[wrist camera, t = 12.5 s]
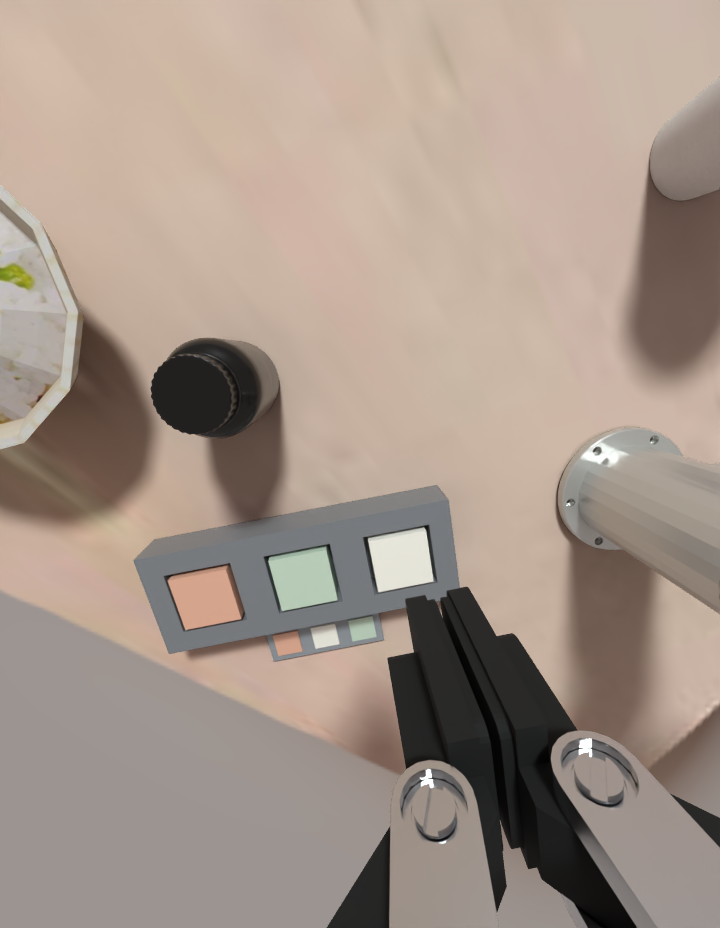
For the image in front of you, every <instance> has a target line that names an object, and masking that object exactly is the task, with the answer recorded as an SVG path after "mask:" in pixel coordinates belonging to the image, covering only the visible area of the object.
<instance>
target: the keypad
mask: <svg viewBox="0 0 720 928" xmlns="http://www.w3.org/2000/svg"><path fill="white" fill-rule="evenodd" d="M419 526H424V528H425V530H426V534H427V540H428V547H429V554H430V561H431V567H432V574H433V581H434V582H429V583H424V584H419V585H414V586H408V587H403V588H398V589H393V590H388V591H383V592H378V589H377V583H376V578H375V573H374V568H373V563H372V558H371V553H370V547H369V542H368V537H367V536H372V535H377V534H382V533H388V532H393V531H398V530H403V529H408V528H413V527H419ZM326 544H329V546H330V551H331V555H332V560H333V564H334V569H335V573H336V577H337V582H338V600H337V601H331V602H326V603H321V604H316V605H311V606H306V607H301V608H296V609H291V610H285V611H282V609H281V605H280V602H279V598H278V595H277V591H276V587H275V584H274V580H273V576H272V573H271V569H270V566H269V562H268V561H269V558H270V555H274V554H279V553H284V552H290V551H295V550H300V549H305V548H310V547H315V546H321V545H326ZM133 561H134V563H135V566H136V569H137V571H138V574H139V576H140V579H141V582H142V584H143V587H144V590H145V592H146V595H147V597H148V600H149V603H150V605H151V608H152V611H153V613H154V616H155V618H156V621H157V624H158V626H159V629H160V632H161V634H162V637H163V639H164V642H165V645H166V647H167V650H168V653H169V654H172V653H177V652H182V651H187V650H192V649H197V648H203V647H208V646H213V645H218V644H223V643H228V642H233V641H238V640H243V639H249V638H254V637H259V636H264V635H269V634H274V633H279V632H284V631H289V630H295V629H300V628H305V627H310V626H315V625H320V624H325V623H330V622H335V621H341V620H346V619H351V618H356V617H361V616H366V615H371V614H376V613H381V612H387V611H392V610H397V609H402V608H406V603H405V599H406V598H411V597H416V596H421V595H426V598H427V600H431V599H435V601H436V602H438V601H440V598H441V597H447V594H446V593H447V590H452V589H457V588H460V585H459V577H458V570H457V562H456V554H455V546H454V539H453V531H452V523H451V515H450V507H449V500H448V498H447V497H446V496H445V494H444V493H443V492H442V491H441V489H440V488H439V487H438V486H437V485H435V486H430V487H425V488H420V489H415V490H409V491H404V492H399V493H394V494H389V495H383V496H378V497H373V498H368V499H363V500H358V501H352V502H347V503H342V504H337V505H332V506H326V507H321V508H316V509H311V510H306V511H301V512H295V513H290V514H285V515H280V516H275V517H269V518H264V519H259V520H254V521H249V522H244V523H238V524H233V525H228V526H223V527H218V528H212V529H207V530H202V531H197V532H192V533H187V534H181V535H176V536H171V537H166V538H161V539H155V540H153V541H152V542H151V543H150V544H149V545H148V546H147V547H146V548H145V549H144V550H143V551H142V552H141V553H140V554H139V555H138V556H137V557H136V558H135V559H134V560H133ZM228 563H230V565H231V568H232V571H233V574H234V578H235V581H236V584H237V587H238V591H239V594H240V597H241V600H242V604H243V607H244V613H243V616H242V619H239V620H234V621H229V622H224V623H219V624H214V625H209V626H204V627H198V628H193V629H188V630H185V628H184V625H183V622H182V619H181V616H180V614H179V611H178V608H177V605H176V603H175V600H174V597H173V594H172V591H171V589H170V586H169V583H168V580H169V579H170V577H171V576H172V575H173V574H176V573H181V572H186V571H192V570H197V569H202V568H207V567H212V566H217V565H222V564H228Z"/></svg>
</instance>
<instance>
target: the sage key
mask: <svg viewBox="0 0 720 928" xmlns="http://www.w3.org/2000/svg"><path fill="white" fill-rule="evenodd" d="M268 562H269V566H270V569H271V573H272V576H273V580H274V584H275V587H276V591H277V595H278V598H279V602H280V605H281V609H282V611H285V610H291V609H296V608H301V607H306V606H311V605H316V604H321V603H326V602H331V601H337V600H338V582H337V577H336V573H335V569H334V564H333V560H332V555H331V551H330V546H329V544H326V545H321V546H315V547H310V548H305V549H300V550H295V551H290V552H284V553H279V554H274V555H270V558H269V561H268Z"/></svg>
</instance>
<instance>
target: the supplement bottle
mask: <svg viewBox="0 0 720 928" xmlns="http://www.w3.org/2000/svg"><path fill="white" fill-rule="evenodd" d="M278 390H279V378H278V373H277V370H276V368H275V365H274V364H273V362H272V360H271V359H270V358H269V357H268V355H267V354H266V353H265V352H263V351H262V350H261V349H259V348H258V347H256V346H254V345H252V344H249V343H246V342H241V341H234V340H225V339H217V338H199V339H194V340H191V341H188V342H186V343H184V344H182V345H180V346H179V347H178V348H176V349H175V350H174V351H173V352H172V353H171V354H170V355H169V357H168V358H167V360H166V361H165V362H164V363H163V364H162V366H160V367H158V370H157V372H156V373H154V378H153V380H152V387H151V392H152V395H151V398H152V399H153V405H154V406H155V408H156V411H157V413H158V414H160V416H161V419H163V420H164V421H166V423H167V424H168V425H170V426H172V427H173V428H174V429H176V430H179V431H180V432H182V433H185V432H186V433H188V434H195V435H198V436H201V437H205V438H213V439H219V438H226V437H230V436H233V435H236V434H238V433H240V432H241V431H243V430H245V429H246V428H247V427H249V426H250V425H251V424H252V423H254V422H255V421H256V420H257V419H259V418H260V417H261V416H262V415H263V414H265V413H266V412H267V411H268V410H269V409H270V408H271V407H272V405H273V404H274V402H275V400H276V397H277V394H278Z"/></svg>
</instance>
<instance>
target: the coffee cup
mask: <svg viewBox="0 0 720 928" xmlns="http://www.w3.org/2000/svg"><path fill="white" fill-rule="evenodd" d="M650 172H651V177H652V180H653V182H654V184H655V186H656V188H657V189H658V190H659V191H660V192H661V193H662V194H663V195H664V196H666V197H667V198H670V199H672V200H677V201H684V200H689V199H693V198H696V197H699V196H702V195H705V194H707V193H710V192H713V191H716V190H719V189H720V76H719V77H718V78H717V79H716V80H715V81H714V82H712V83H711V84H710V85H709V86H708V87H706V88H705V89H704V90H703V91H702V92H701V93H699V94H698V95H697V96H696V97H695V98H694V99H692V100H691V101H690V102H689V103H688V104H686V105H685V106H684V107H683V108H682V109H681V110H679V111H678V112H677V113H676V114H675V115H674V116H672V117H671V118H670V119H669V120H668V121H667V122H666V123H665V124H664V125H663V127H662V128H661V130H660V131H659V133H658V134H657V136H656V138H655V141H654V143H653V146H652V150H651V155H650Z"/></svg>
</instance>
